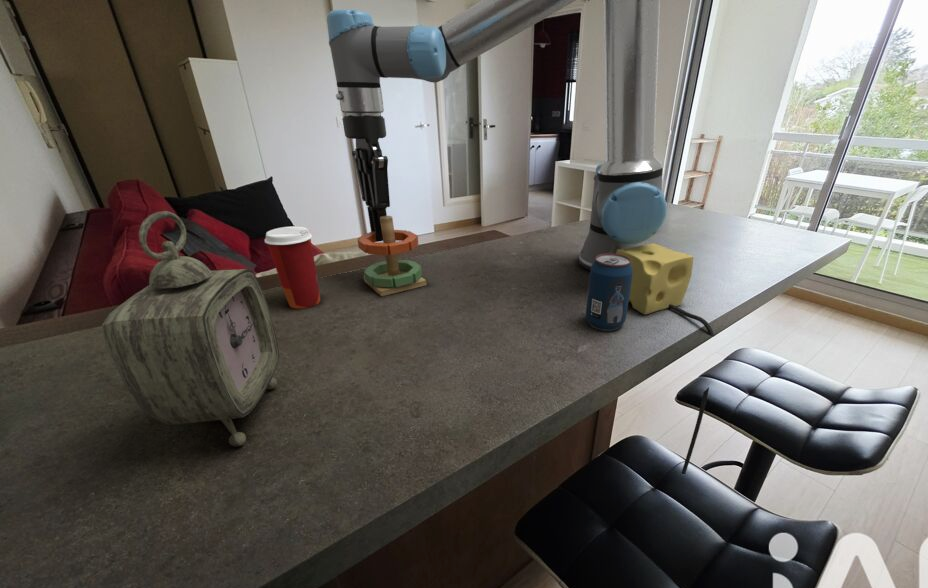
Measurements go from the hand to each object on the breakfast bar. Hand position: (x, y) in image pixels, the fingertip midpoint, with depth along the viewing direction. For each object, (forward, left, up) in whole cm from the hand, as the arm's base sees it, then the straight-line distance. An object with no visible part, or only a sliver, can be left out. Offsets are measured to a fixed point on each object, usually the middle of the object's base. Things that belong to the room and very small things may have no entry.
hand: (380, 238), depth 88 cm
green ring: (-5, 0, -7) cm, 9 cm away
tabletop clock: (-34, +33, -9) cm, 48 cm away
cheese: (-42, -37, -9) cm, 57 cm away
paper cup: (-4, +18, -9) cm, 20 cm away
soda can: (-44, -23, -9) cm, 50 cm away
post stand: (-5, 0, -9) cm, 10 cm away
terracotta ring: (-5, 0, 0) cm, 5 cm away
